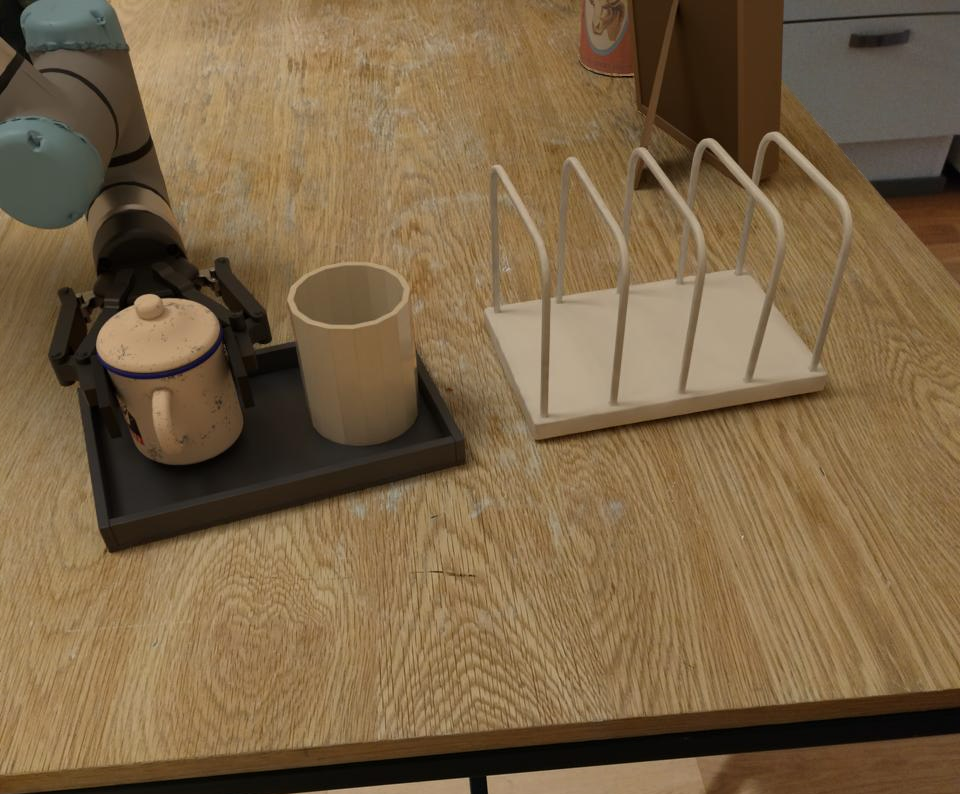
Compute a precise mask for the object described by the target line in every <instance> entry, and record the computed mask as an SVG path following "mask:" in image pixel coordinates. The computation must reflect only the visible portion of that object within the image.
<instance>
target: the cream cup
mask: <svg viewBox="0 0 960 794" xmlns="http://www.w3.org/2000/svg"><path fill="white" fill-rule="evenodd" d="M286 298H287V299H286V304H287V308H288V312H289V313H288V314H289V319H290V325H291V330H292V335H293V341H295V346H296V351H297V356H298V361H299V366H300V372H301V377H302V382H303V387H304V392H305V398H306V403H307V408H308V413H309V416H310V419H311V423H312V425H313V427H314V428H315V429H316V431H317V432H319V433H320V434H321V435H322V436H324V437H325V438H327V439H329V440H331V441H334V442H337V443H340V444H345V445H353V446H366V445H374V444H379V443H383V442H386V441H389V440H391V439H394V438H396V437H398V436H400V435H401V434H403V433H404V432H406V431H407V430H408V429H409V428H410V427H411V426H412V425H413V424H414V422H415V421H416V419H417V417H418V413H419V403H420V401H419V388H418V376H417V363H416V351H415V349H416V340H415V327H414V315H413V314H414V313H413V302H412V291H411V287H410V285H409V283H408V281H407V280H406V278H405V276H404V275H402V274H401V273H400V272H397V271H396V270H395V269H393V268H391V267H390V266H387V265H383V264H378V263H374V262H370V261H342V262H336V263H332V264H326V265H323V266H320V267H318V268H316V269H314V270H311V271H309V272H307V273H305V274H303V275H302V276H301V277H300V278H299V279H298V280H296V281H295V282H294V283H293V284H292V285H291V287H290V289H289V292H288V295H287V297H286Z"/></svg>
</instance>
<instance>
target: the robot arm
mask: <svg viewBox="0 0 960 794" xmlns="http://www.w3.org/2000/svg"><path fill="white" fill-rule="evenodd" d="M20 27H21V30H22V34H23V37H24V41H25V51H26V53H27V54H28V55H29V57H30V61H31V62H32V64H31V63H30V62H29V61H28V60H27V59H26V58H25V57H23V55H22V54H20V53H19V52H18V51H17V50H15V49H14V48H13V47H12V46H11V45H10V44H9V43H7V41H5V40H4V38H2V37H1V36H0V210H1V211H3V213H5V214H6V215H8V216H9V217H10V218H12V219H14V220H15V221H17V222H19V223H21V224H23V225H26V226H28V227H32V228H36V229H40V230H59V229H63V228H66V227H67V228H68V227H69V226H71V225H73V224H75V223H76V222H78V221H79V220H80V219H82V218H83V217H85V220H86V226H87V235H88V240H89V245H90V249H91V254H92V259H93V265H94V269H95V274H96V281H95V282H94V284H93V286H92V290H89V291H85V292H82V293H81V292H76V293H75V291H74V289H73V288H72V287H69V286H68V287H67V286H64V287H61V288H59V289H58V290H57V291H56V294H57V296H58V299H59V302H60V304H61V305H60V308H59V312H58V316H57V320H56V323H55V324H56V325H55V327H54V331H53V335H52V338H51V342H50V347H49V350H48V353H47V358H48V360H49V363H50V365H51V368H52V370H53V372H54V375H55V376H56V379H57V381H58V384H59V386H61V387H63V388H67V387H72V386H73V385H75V384H76V383H77V382H78V383H79V388H81V391H82V393H83V396H84V398H85V400H86V403H87V404H88V405H89V406H90V407H92V406H96V405H99V409H100V411H101V414H102V416H103V419H104V421H105V424H106V426H107V429H108V431H109V434H110V436H111V439H115V438H120V437H122V432H121V427H120V421H119V416H118V411H117V406H116V401H115V395H114V390H113V386H112V383H111V381H110V378H109V376H108V373H107V370H106V368H105V367H104V366H103V365H102V364H101V363H100V361H99V359H98V357H97V353H96V342H97V337H98V334H99V332H100V330H101V328H102V327H103V326H104V324H105V323H106V322H107V321H108V320H109V319H110V318H111V317H113V316H114V315H115V314H117V313H119V312H120V311H122V310H124V309H126V308H128V307H130V306H133V305H134V303H135V301H136V299H137V298H139V297H140V296H143V295H147V294H154V295H157V296H158V297H160V298H161V299H165V298H176V299H185V300H190V301H193V302H197V303H199V304H201V305H203V306H205V307H206V308H208V309H209V310H210V311H211V312H213V313H214V315H215V316H216V317H217V319H218V320H219V322H220V323H221V326H222V329H223V338H222V341H223V345H224V348H225V352H226V356H228V359H229V362H230V365H231V368H232V371H233V374H234V377H235V380H236V383H237V386H238V389H239V392H240V395H241V398H242V401H243V404H244V407H245V409H246V408H251V407H255V404H254V400H253V396H252V391H251V387H250V383H249V379H248V375H247V373H248V372H252V371H257V369H258V362H257V358H256V353H255V350H256V349H255V347H254V345H255V344H258V345H263V346H264V345H269V344H270V343H271V342H273V336H272V331H271V326H270V321H269V318H268V313H267V310H266V309H265V307H264V306H262V304H261V303H260V302H259V301H258V300H257V298H255V296H254V295H253V294H252V293H251V292H250V291H249V290H248V288H246V286H245V285H244V283H242V282H241V280H240V279H239V278H237V276H236V275H235V274H234V273H233V270H232V266H231V260H230V258H229V257H226V256H220V257H217V258H216V259H215V260H214V263H213V264H214V266H211V267H209V268H202V269H199V268H198V266H197V265H195V264H193V263H192V262H191V261H190V259H189V256H188V253H187V249H186V247H185V244H184V242H183V238H182V235H181V231H180V228H179V224H178V221H177V219H176V217H175V213H174V212H173V210H172V205H171V201H170V197H169V193H168V189H167V185H166V181H165V178H164V174H163V171H162V167H161V164H160V162H159V158H158V154H157V150H156V147H155V143H154V140H153V138H152V133H151V130H150V127H149V123H148V120H147V119H148V118H147V116H146V111H145V107H144V104H143V100H142V97H141V93H140V89H139V85H138V82H137V78H136V74H135V71H134V67H133V64H132V63H133V62H132V60H131V56H130V51H131V49H130V48H131V47H130V46H129V44H128V43H127V40H126V38H125V34H124V32H123V29H122V26H121V23H120V20H119V16H118V15H117V12H116V10H115V8H114V7H113V5H112V4H111V3H110V2H108V1H107V0H36V1H34V2H33V3H31V4H29V5H28V6H26V7H25V8H24V10H23V11H22V12H21V15H20ZM203 287H207V288H209V290H210V291H211V292H214V295H215V297H216V298H221V299H222V302H223V304H224V305H225V306H224V305H222V304H221V303H219V302H218V301H215V300H214V299H213V298H211V297H209V296H208V295H207V294H205V293H203V292H201V291H202V289H203ZM96 308H99V309H100V310H101V312H99V314H98V316H97V317H96V319H95V321H94V323H93V324H92V326H91V327H90V329H89V330H88V324H91V323H92V321H93V320H92V318H91V316H92V315H93V313H94V310H95V309H96Z"/></svg>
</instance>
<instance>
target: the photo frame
mask: <svg viewBox="0 0 960 794" xmlns="http://www.w3.org/2000/svg"><path fill="white" fill-rule="evenodd" d="M627 3H628V14H629V25H630V36H631V47H632V57H633V68H634V77H633V78H634V89H635V98H636V109H637V110H638V111H640V112H641V113H642V114H644V115H645V116H646V117H645V121H644V125H643V130H642V135H641V139H640V144H639V147H638V148H640V147H643V148H646V149H647V150H648V149H649V146H650V140H651V136H652V132H653V127H654V125H655V124H656V126H657V125H658V126H659V127H658V126H657V127H658V128H660V129H661V130H662V131H663V132H665V133H666V132H667V133H666V134H668V135H669V136H670V137H672V138H673V139H675V141H677V142H678V143H680V144H681V145H683V146H684V147H686V149H688V150H690V151H691V152H692V153H695V150H696V148H697V145H698V144H699V143H700V142H701V141H702V140H703V139H708V138H712V139H714V140H715V141H717V142H718V143H719V144H720V146H721V147H722V148H723V149H724V150H725V151H726V152H727V153H728V154H729V155H730V157H731V158H732V159H733V160H734V161H735V162H736V163H737V164H738V166H739V167H740V168H741V169H742V170H743V171H744V172H745V173H746V174H747V176H748V177H749V178H750V179H751V180H752V176H753V171H754V165H755V160H756V156H757V151H758V148H759V145H760V142H761V140H762V138H763V137H764V136H765V135H766V134H767V133H770V132H779V133H780V134H781V114H782V113H781V112H782V111H781V110H782V109H781V108H782V107H781V106H782V81H783V79H782V75H783V45H784V44H783V43H784V12H785V11H784V10H785V6H784V5H785V0H627ZM637 110H636V111H637ZM638 111H637V112H638ZM642 114H641V115H642ZM653 122H654V123H655V124H654V123H653ZM648 151H649V150H648ZM701 160H704V162H706V163H707V164H710V166H712V167H714V168H715V169H716V170H717V171H718V172H720V173H722V175H724V176H726V177H727V178H729V180H731V181H733V182H734V183H735V184H737V185H738V186H740V187H741V188H742V189H744V190H746V189H745V188H744V187H743V185H742V184H741V183H740V182H739V181H738V180H737V178H736V177H735V176H734V175H733V174H732V173H731V172H730V171H729V169H728V168H727V167H726V166H725V165H724V164H723V163H722V161H721V160H720V159H719V158H718V157H717V156H716V155H715V154H714V152H713V151H712V150H711V149H710V148H708V147H707V148H706V149H705V150H704V152H703V155H702V158H701ZM644 165H645V162H644V161H643V159H642V158H641V157H639V158H638V161H637V164H636V170H635V179H634V189H638V187H639V183H640V181H641V177H642V173H643V168H644ZM779 170H780V146H779V145H778V144H777V143H776V142H775V141H773V140H772V141H770V142H769V144H768V146H767V148H766V151H765V155H764V159H763V164H762V169H761V175H760V180H759V182H760V181H762V180H764V179H766V178H767V177H770V176H771V175H773V174H775V173H777V172H779Z"/></svg>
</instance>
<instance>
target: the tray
mask: <svg viewBox="0 0 960 794" xmlns="http://www.w3.org/2000/svg"><path fill="white" fill-rule="evenodd" d="M415 351H416V363H417V376H418V388H419V401H420V403H419V413H418V417H417V419H416V421H415V422H414V424H413V425H412V426H411V427H410V428H409V429H408V430H407V431H406V432H404V433H403V434H401V435H400V436H398V437H396V438H394V439H391V440H389V441H386V442H383V443H379V444H374V445H366V446H353V445H345V444H340V443H337V442H334V441H331V440H329V439H327V438H325V437H324V436H322V435H321V434H320V433H319V432H317V431H316V429H315V428H314V427H313V425H312V423H311V419H310V416H309V413H308V408H307V403H306V398H305V392H304V387H303V382H302V377H301V372H300V366H299V361H298V356H297V351H296V346H295V340H293V341H290V342H283V343H280V344H275V345H269V346H265V347H261V348H256V349H255V353H256V358H257V362H258V369H257V371H252V372H248V373H247V375H248V379H249V383H250V387H251V391H252V396H253V400H254V404H255V407H251V408H246V409H245V407H244V404H243V401H242V398H241V395H240V392H239V389H238V386H237V383H236V380H235V377H234V374H233V371H232V368H231V365H230V362H229V359H228V355H226V356H227V360H228V364H229V367H230V371H231V375H232V378H233V382H234V386H235V389H236V393H237V397H238V401H239V404H240V408H241V412H242V416H243V427H242V431H241V433H240V435H239V437H238V438H237V440H236V441H235V442H234V443H233V444H232V445H231V446H230V447H229V448H228V449H227V450H225V451H224V452H222V453H221V454H219V455H217V456H215V457H213V458H211V459H208V460H205V461H202V462H198V463H194V464H187V465H169V464H163V463H159V462H156V461H154V460H151V459H149V458H148V457H146V456H145V455H144V454H142V453H141V452H140V451H139V449H138V448H137V446H136V445H135V442H134V440H133V437H132V435H131V432H130V429H129V427H128V424H127V422H126V419H125V417H124V414H123V411H122V409H121V406H120V404H119V401H118V399H117V396H116V394H115V391H114V395H115V401H116V406H117V411H118V416H119V421H120V427H121V432H122V437H120V438H115V439H111V436H110V434H109V431H108V429H107V426H106V424H105V421H104V419H103V416H102V414H101V411H100V409H99V405H96V406H92V407H90V406H89V405H88V404H87V403H86V400H85V398H84V396H83V393H82V391H81V388H80V387H77V388H76V392H77V397H78V405H79V411H80V417H81V424H82V430H83V437H84V444H85V450H86V456H87V463H88V469H89V475H90V482H91V488H92V495H93V502H94V507H95V508H94V509H95V514H96V515H95V516H96V521H97V527H98V528H97V529H98V531H99V533H100V535H101V538H102V539H103V542H104V544H105V546H106V549H107V551H108V553H113V552H118V551H121V550H125V549H128V548H133V547H138V546H141V545H144V544H149V543H152V542H158V541H160V540H165V539H168V538H172V537H176V536H180V535H184V534H189V533H194V532H197V531H200V530H205V529H209V528H213V527H217V526H220V525H224V524H225V525H226V524H228V523H233V522H238V521H241V520H245V519H248V518H252V517H256V516H261V515H264V514H269V513H272V512H277V511H281V510H284V509H288V508H292V507H296V506H300V505H301V506H302V505H304V504H309V503H312V502H317V501H320V500H324V499H328V498H333V497H337V496H340V495H345V494H349V493H352V492H356V491H360V490H364V489H368V488H372V487H376V486H381V485H385V484H389V483H391V482H396V481H400V480H405V479H408V478H412V477H416V476H420V475H425V474H428V473H433V472H436V471H441V470H444V469H449V468H452V467H455V466H456V467H457V466H460V465H464V464H466V463H467V456H466V455H467V454H466V453H467V452H466V451H467V450H466V439H465V436H464V434H463V433H462V431H461V429H460V427H459V426H458V424H457V422H456V420H455V418H454V416H453V414H452V413H451V411H450V409H449V407H448V405H447V403H446V402H445V399H444V398H443V397H442V395H441V393H440V391H439V389H438V387H437V385H436V383H435V382H434V380H433V378H432V376H431V374H430V373H429V370H428V369H427V367H426V365H425V364H424V362H423V360H422V358H421V356H420V354H419V352H418V350H417V348H415ZM113 390H114V388H113Z"/></svg>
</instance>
